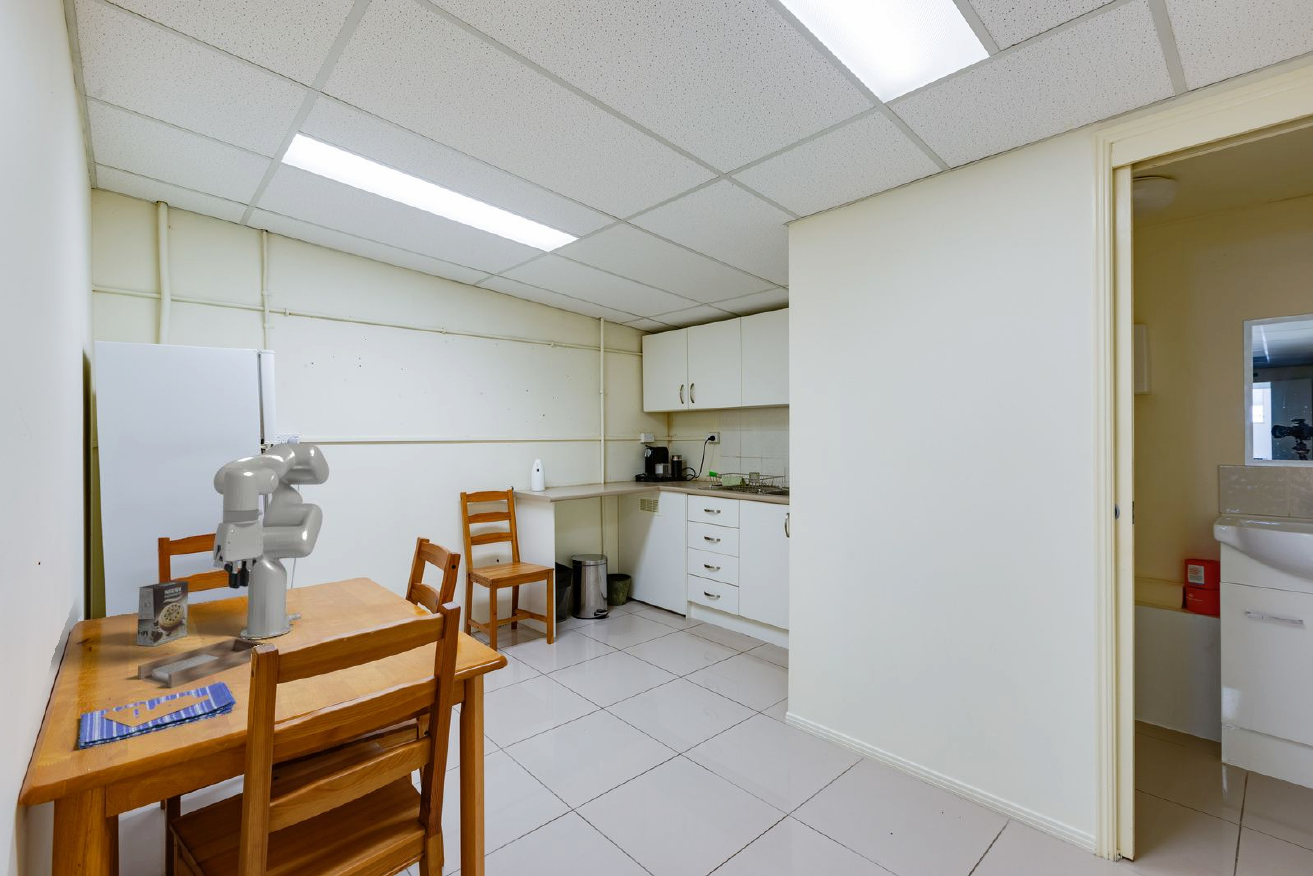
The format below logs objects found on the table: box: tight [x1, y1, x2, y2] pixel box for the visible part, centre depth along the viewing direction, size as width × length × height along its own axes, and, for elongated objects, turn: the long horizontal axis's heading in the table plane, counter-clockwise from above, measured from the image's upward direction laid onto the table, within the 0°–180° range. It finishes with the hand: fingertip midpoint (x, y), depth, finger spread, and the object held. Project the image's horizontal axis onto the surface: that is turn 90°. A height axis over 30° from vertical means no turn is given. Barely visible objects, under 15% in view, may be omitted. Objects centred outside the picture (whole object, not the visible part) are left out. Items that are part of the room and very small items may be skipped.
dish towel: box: [78, 681, 237, 751], centre depth 117 cm, size 17×24×3 cm
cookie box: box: [136, 580, 189, 647], centre depth 161 cm, size 9×6×16 cm
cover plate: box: [152, 654, 218, 682], centre depth 137 cm, size 11×8×2 cm
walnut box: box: [137, 637, 267, 689], centre depth 141 cm, size 22×13×4 cm, turn 158°
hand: (238, 586), depth 148 cm, fingers closed
